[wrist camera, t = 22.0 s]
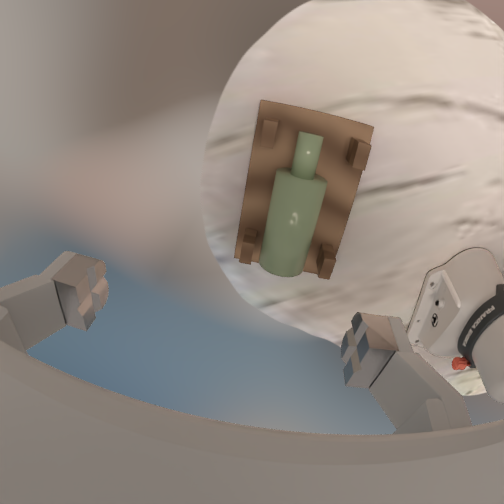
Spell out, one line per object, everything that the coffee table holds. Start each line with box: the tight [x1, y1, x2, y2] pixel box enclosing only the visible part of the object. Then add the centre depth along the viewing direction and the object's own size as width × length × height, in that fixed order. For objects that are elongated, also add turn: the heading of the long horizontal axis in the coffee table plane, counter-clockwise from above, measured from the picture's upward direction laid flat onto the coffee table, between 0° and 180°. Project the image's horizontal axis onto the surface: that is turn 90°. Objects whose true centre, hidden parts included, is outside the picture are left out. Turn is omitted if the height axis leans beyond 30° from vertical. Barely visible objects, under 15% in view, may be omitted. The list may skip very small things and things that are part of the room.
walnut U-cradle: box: [234, 100, 374, 279], centre depth 37 cm, size 22×14×5 cm, turn 170°
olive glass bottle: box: [259, 131, 328, 277], centre depth 35 cm, size 6×6×17 cm
